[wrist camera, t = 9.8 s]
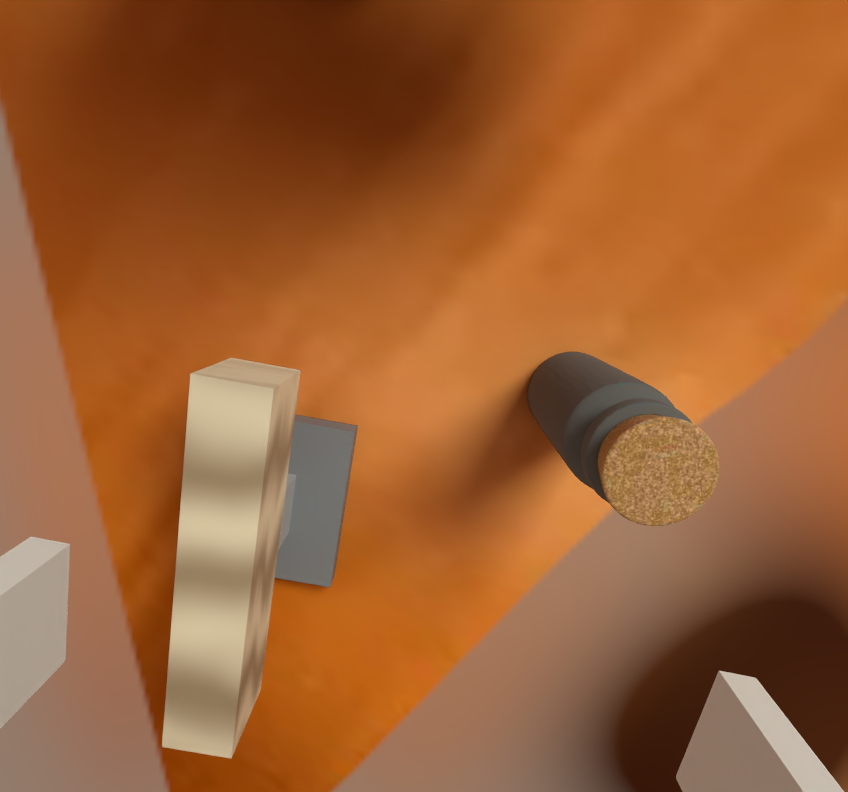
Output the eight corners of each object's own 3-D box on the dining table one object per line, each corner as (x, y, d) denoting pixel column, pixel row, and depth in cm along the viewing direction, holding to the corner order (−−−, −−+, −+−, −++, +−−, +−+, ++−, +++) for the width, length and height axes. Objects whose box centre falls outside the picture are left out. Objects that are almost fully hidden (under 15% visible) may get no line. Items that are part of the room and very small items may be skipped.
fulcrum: (217, 400, 36) (174, 424, 30) (357, 425, 36) (342, 454, 31) (203, 552, 39) (161, 601, 33) (334, 575, 39) (316, 628, 33)
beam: (260, 690, 34) (231, 758, 30) (200, 680, 34) (161, 746, 29) (300, 370, 29) (273, 388, 25) (231, 357, 29) (190, 373, 25)
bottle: (519, 427, 36) (575, 529, 22) (535, 344, 35) (606, 393, 20) (601, 439, 36) (713, 549, 22) (621, 357, 35) (753, 415, 20)
